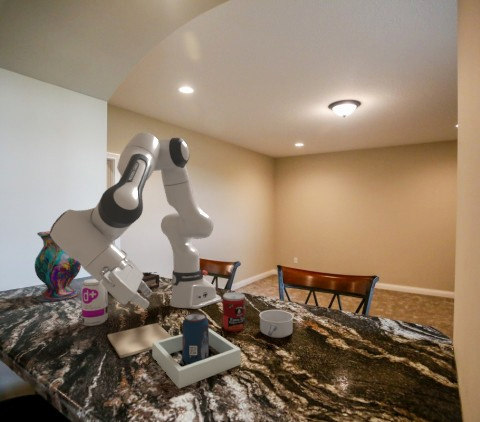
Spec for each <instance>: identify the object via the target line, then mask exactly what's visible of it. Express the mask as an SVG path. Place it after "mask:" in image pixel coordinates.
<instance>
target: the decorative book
mask: <svg viewBox="0 0 480 422" xmlns="http://www.w3.org/2000/svg"><path fill="white" fill-rule="evenodd" d="M141 272H142V273H143V275H144V276H143V278H142V280H143V281H144V282H145V284H146V285H147V286H148V288H149V289H150V290H151V289H152V290H154V289H157V288H160V274H156V273H158V271H155V272H152V271H150V272H148V271H147V272H143V271H141ZM152 290H151V291H152ZM137 292H138V293H139V294H141V293H142V292H141V290H140V289H138V290H137ZM142 294H143V293H142Z"/></svg>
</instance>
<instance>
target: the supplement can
mask: <svg viewBox="0 0 480 422" xmlns="http://www.w3.org/2000/svg"><path fill="white" fill-rule="evenodd" d="M108 293H109V292H108V291H107V290H106V288H105V287H104V286H103V285H102V281H100V282H98V281H97V280H96V279H95V278H94V277H92V278H89V279H85V280H84V281H83V283H82V284H81V323H82V325H85V326H88V327H91V326H92V327H93V326H99V325H102V324H103V323H105V322H106V321H107V320H108Z"/></svg>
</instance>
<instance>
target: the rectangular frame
mask: <svg viewBox="0 0 480 422" xmlns="http://www.w3.org/2000/svg"><path fill="white" fill-rule="evenodd" d="M182 335H183V333H182V334H179V335H175V336H172V337H170V338H167V339H163V340H159V341H156V342H152V349H151V350H152V353H151V354H152V358H153V360H154V361H155V360H156V361H157V362H156V361H155V362H156V363H157V364H158V366H159V367H160V366H161V367H160V368H161V369H162V370H163V372H164V373H165V372H166V373H165V374H166V375H167V376H168V378H169V379H170V380H171V381H172V382H173V383H174V385H175V386H176V387H177V388H178V389H179V390H180V389H181V388H185V387H187V386H190V385H193V384H194V383H198V382H199V381H202V380H206V379H207V378H209V377H212V376H215V375H218V374H220V373H222V372H224V371H225V372H226V371H228V370H231V369H232V368H235V367H238V366H241V364H242V362H241V361H242V349H241V348H240V347H238V346H237V345H235V344H234V343H232V342H230V340H227V339H226V338H225V337H223V336H221V335H220V334H219V333H217V332H215V330H213V329H211V328H209V346H210V347H211V348H212V349H214V350H215V351H217V352H218V353H219V354H215V355H212V356H208V358H207V359H204V360H201V361H198V362H195V363H192V364H189V365H187V364H185V365H184V366H183V365H182V366H181V365H180V363H178V361H176V359H174V357H172V355H171V354H173V353H176V352H180V351H182Z"/></svg>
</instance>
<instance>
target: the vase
mask: <svg viewBox="0 0 480 422" xmlns="http://www.w3.org/2000/svg"><path fill="white" fill-rule="evenodd" d="M37 236H39V238H40V239H41V240H42V242H43V246H42V248H41V249H40V252H39V253H38V255H37V256H36V258H35V260H34V271H35V274H36V276H37V278H38V279H39V281H41V282H42V283H43V284H44V285H45V286H46V289H45V291H43V293H41V294H39V295H38V296H37V297H36V300H37V301H41V302H57V301H64V300H68V299H71V298H75V297H76V296H79V294H80V292H79V291H78V290H76V289H75V288H73V287H71V284H72V281H74V279H75V278H76V277H77V276H78V275H79V273H80V271H81V267H82V265H81V264H80V263H79V262H78V261H77V260H75V259H73V258H71V257H70V256H68V255H67V254H66V253H65V252H64V251H63V250H62V249H61V248H60V247H59V246H58V245H57V244H56V243H55V242H54V240H53V239H52V238H51V236H50V230H48V231H47V230H46V231H40V232H39V231H38V232H37Z"/></svg>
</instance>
